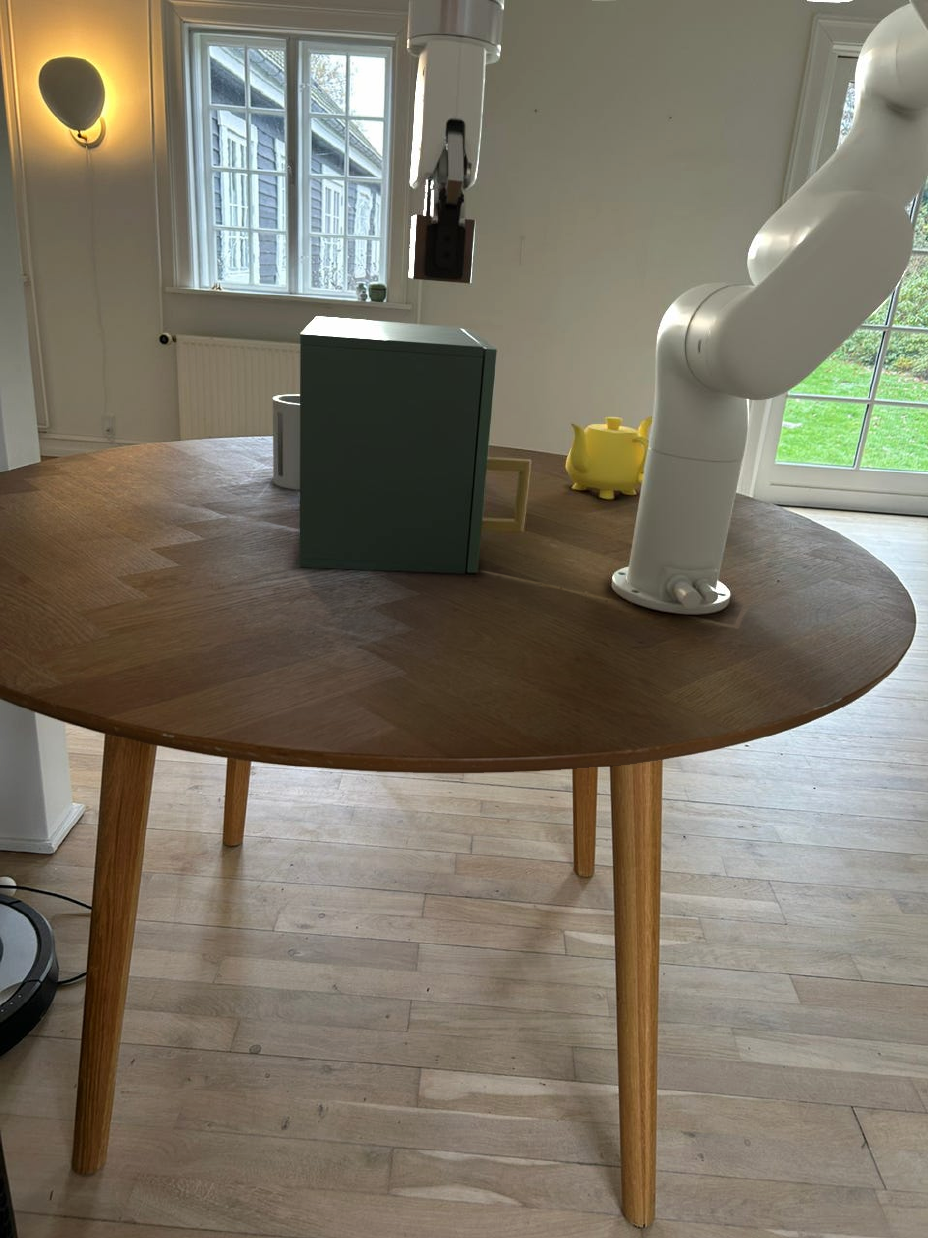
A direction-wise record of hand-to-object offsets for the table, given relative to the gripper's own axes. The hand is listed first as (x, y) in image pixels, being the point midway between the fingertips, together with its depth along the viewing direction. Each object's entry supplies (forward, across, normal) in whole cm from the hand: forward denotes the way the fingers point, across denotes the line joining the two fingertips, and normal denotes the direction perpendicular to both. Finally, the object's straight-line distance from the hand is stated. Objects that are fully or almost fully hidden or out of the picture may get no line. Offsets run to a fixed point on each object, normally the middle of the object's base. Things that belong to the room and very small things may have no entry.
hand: (440, 274), depth 75 cm
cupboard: (+30, -20, -3) cm, 37 cm away
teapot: (+31, -47, +34) cm, 65 cm away
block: (0, 0, 0) cm, 0 cm away
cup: (+31, -44, -13) cm, 55 cm away
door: (+30, -20, +9) cm, 37 cm away
